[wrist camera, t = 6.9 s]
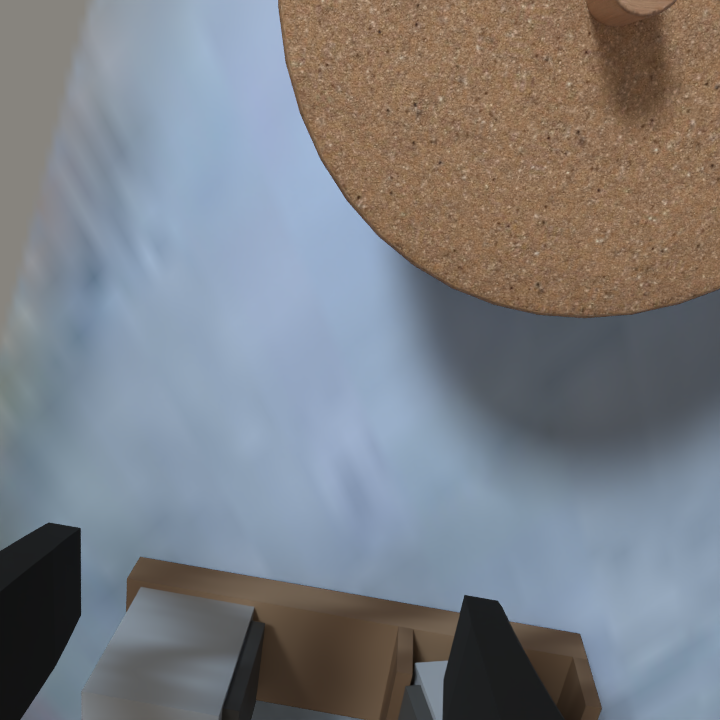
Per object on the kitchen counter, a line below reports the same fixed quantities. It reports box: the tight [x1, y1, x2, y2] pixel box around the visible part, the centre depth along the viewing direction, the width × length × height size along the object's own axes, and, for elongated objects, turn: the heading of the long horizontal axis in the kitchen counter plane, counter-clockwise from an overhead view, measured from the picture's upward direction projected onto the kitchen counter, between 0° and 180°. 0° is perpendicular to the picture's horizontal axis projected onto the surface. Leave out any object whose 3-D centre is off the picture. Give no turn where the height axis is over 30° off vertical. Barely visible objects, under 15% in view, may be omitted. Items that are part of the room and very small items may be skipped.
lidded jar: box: [278, 0, 720, 318], centre depth 14 cm, size 11×11×9 cm
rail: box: [81, 557, 602, 720], centre depth 23 cm, size 16×4×6 cm, turn 82°
